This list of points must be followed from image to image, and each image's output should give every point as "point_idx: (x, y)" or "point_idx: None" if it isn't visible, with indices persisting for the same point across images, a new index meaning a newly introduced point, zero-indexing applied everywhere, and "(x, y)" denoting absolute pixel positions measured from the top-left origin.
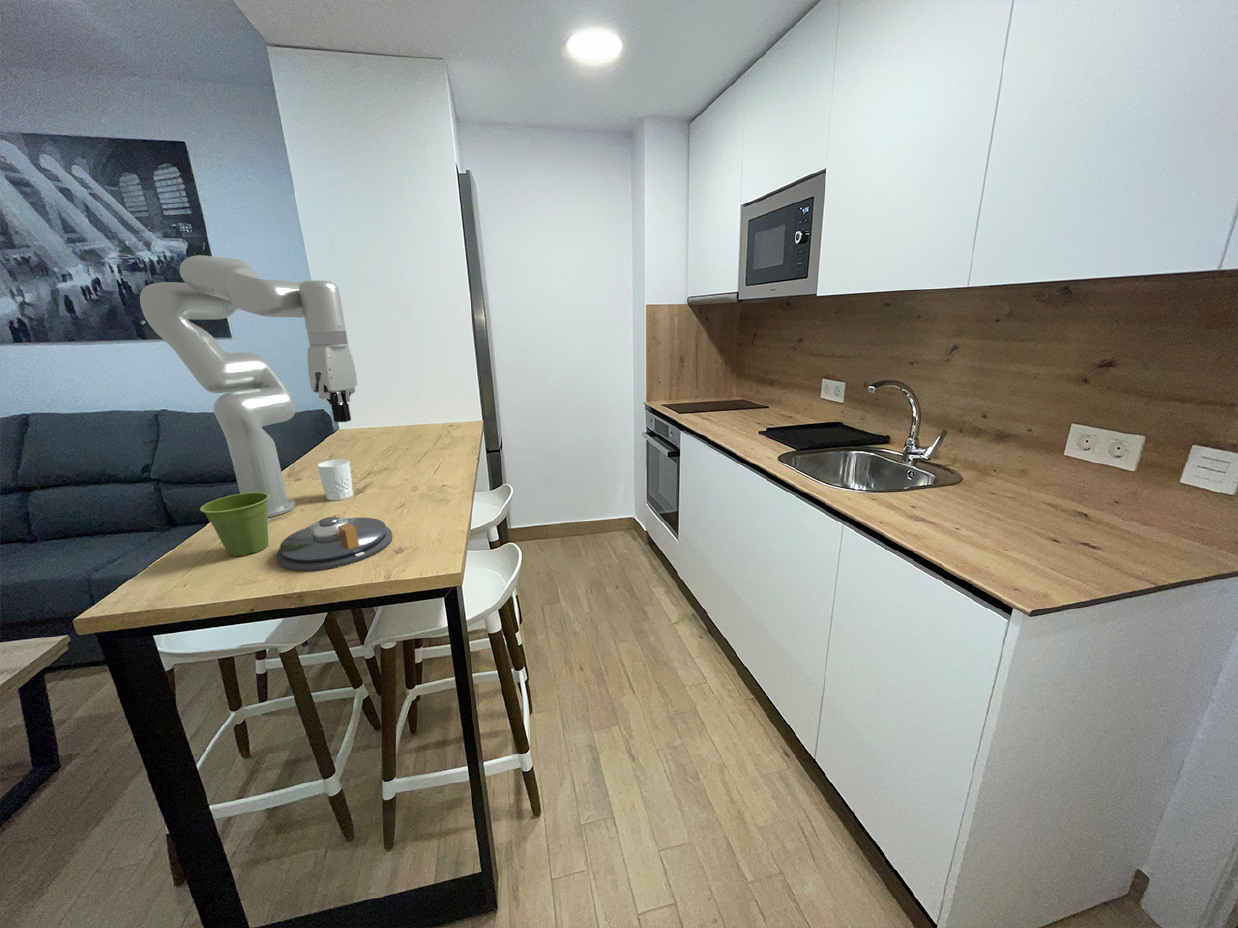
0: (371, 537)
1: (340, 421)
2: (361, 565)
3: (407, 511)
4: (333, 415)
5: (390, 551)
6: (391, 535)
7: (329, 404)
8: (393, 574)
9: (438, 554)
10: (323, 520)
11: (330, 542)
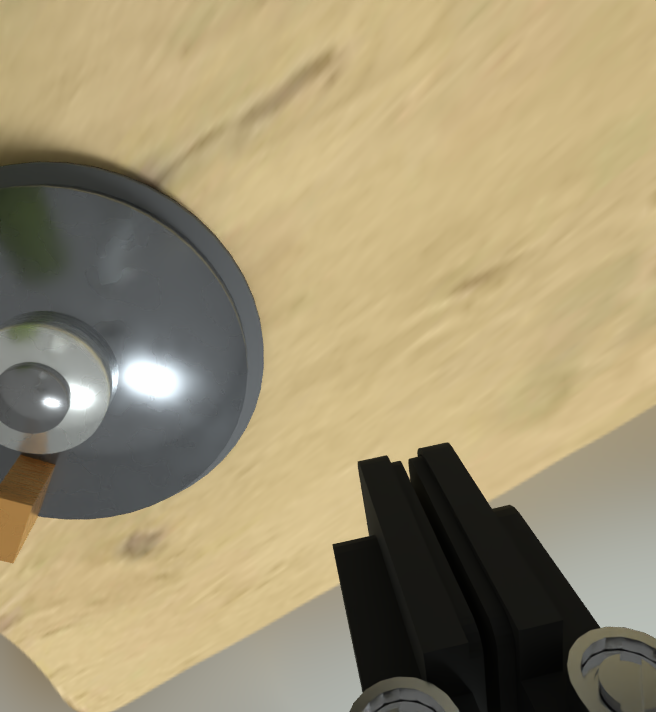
0: (105, 502)
1: (368, 531)
2: None
3: (429, 344)
4: (373, 516)
5: (125, 528)
6: (198, 478)
7: (355, 707)
8: (22, 625)
9: (162, 642)
10: (13, 387)
11: None
